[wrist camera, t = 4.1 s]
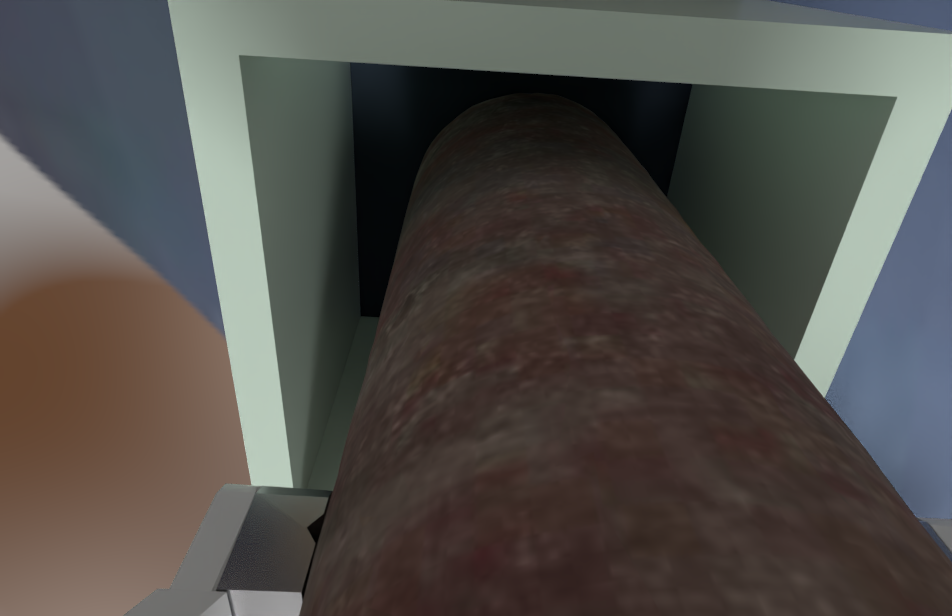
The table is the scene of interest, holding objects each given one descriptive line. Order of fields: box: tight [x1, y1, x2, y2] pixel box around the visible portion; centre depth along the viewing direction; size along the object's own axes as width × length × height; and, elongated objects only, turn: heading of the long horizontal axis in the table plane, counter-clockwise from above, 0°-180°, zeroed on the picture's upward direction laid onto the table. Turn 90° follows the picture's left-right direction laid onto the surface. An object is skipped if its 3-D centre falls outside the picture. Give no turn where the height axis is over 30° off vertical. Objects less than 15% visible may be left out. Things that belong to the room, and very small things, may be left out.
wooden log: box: [299, 93, 952, 616], centre depth 13 cm, size 8×7×20 cm
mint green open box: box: [168, 0, 952, 491], centre depth 17 cm, size 13×13×10 cm
